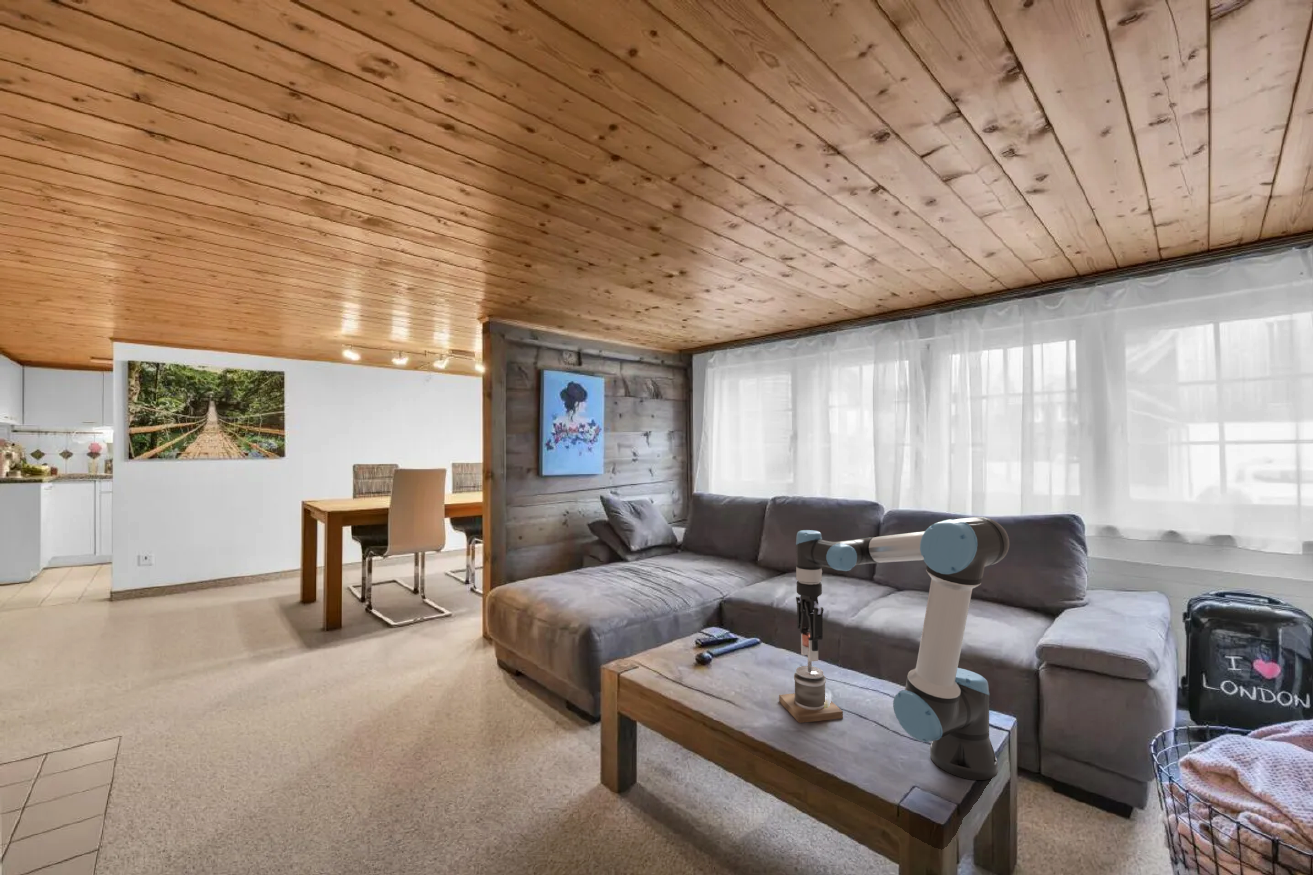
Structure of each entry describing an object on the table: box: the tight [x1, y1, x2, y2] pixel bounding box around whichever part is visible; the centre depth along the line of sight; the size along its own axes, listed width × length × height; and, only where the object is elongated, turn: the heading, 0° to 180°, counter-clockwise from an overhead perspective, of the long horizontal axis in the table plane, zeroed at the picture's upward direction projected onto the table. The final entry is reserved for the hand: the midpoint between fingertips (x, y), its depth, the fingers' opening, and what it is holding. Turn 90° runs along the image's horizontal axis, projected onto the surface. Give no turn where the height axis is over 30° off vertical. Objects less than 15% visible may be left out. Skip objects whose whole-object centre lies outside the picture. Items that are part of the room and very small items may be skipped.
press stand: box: [778, 672, 844, 724], centre depth 169 cm, size 14×14×10 cm
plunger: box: [795, 632, 824, 679], centre depth 170 cm, size 8×8×12 cm
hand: (809, 657), depth 170 cm, fingers closed on plunger, 4 cm apart
